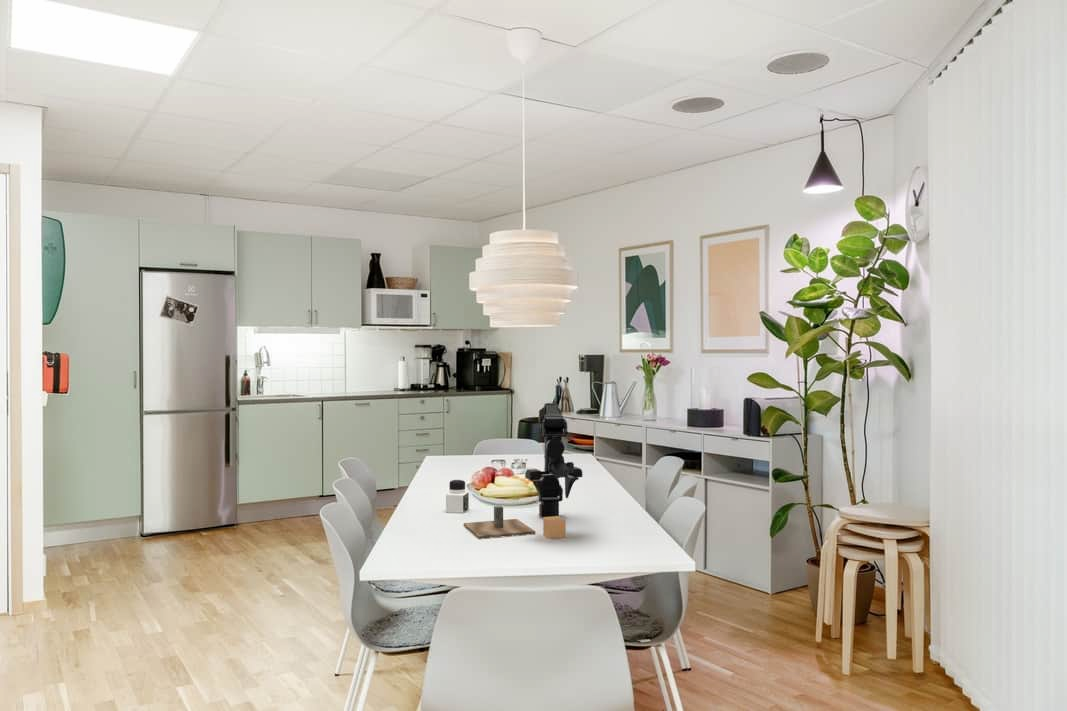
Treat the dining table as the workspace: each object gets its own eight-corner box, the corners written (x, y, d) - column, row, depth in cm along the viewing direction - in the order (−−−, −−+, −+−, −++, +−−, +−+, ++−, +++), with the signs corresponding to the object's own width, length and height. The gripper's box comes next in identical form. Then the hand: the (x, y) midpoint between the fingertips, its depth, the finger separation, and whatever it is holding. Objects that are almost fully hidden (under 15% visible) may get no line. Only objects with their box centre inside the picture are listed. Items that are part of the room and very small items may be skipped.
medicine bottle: (463, 513, 297) (463, 482, 297) (445, 512, 298) (445, 481, 298) (468, 509, 304) (468, 479, 304) (451, 508, 305) (451, 478, 305)
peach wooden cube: (559, 533, 265) (559, 516, 265) (565, 537, 259) (565, 519, 259) (543, 534, 263) (543, 517, 263) (549, 538, 257) (549, 520, 257)
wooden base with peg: (516, 521, 283) (516, 499, 283) (535, 534, 264) (535, 510, 264) (463, 525, 276) (463, 503, 276) (478, 539, 258) (478, 515, 257)
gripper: (535, 457, 250) (535, 505, 250) (589, 454, 256) (589, 501, 257) (524, 452, 261) (524, 499, 261) (576, 450, 267) (576, 495, 267)
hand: (554, 499), depth 261 cm, fingers open, 9 cm apart
